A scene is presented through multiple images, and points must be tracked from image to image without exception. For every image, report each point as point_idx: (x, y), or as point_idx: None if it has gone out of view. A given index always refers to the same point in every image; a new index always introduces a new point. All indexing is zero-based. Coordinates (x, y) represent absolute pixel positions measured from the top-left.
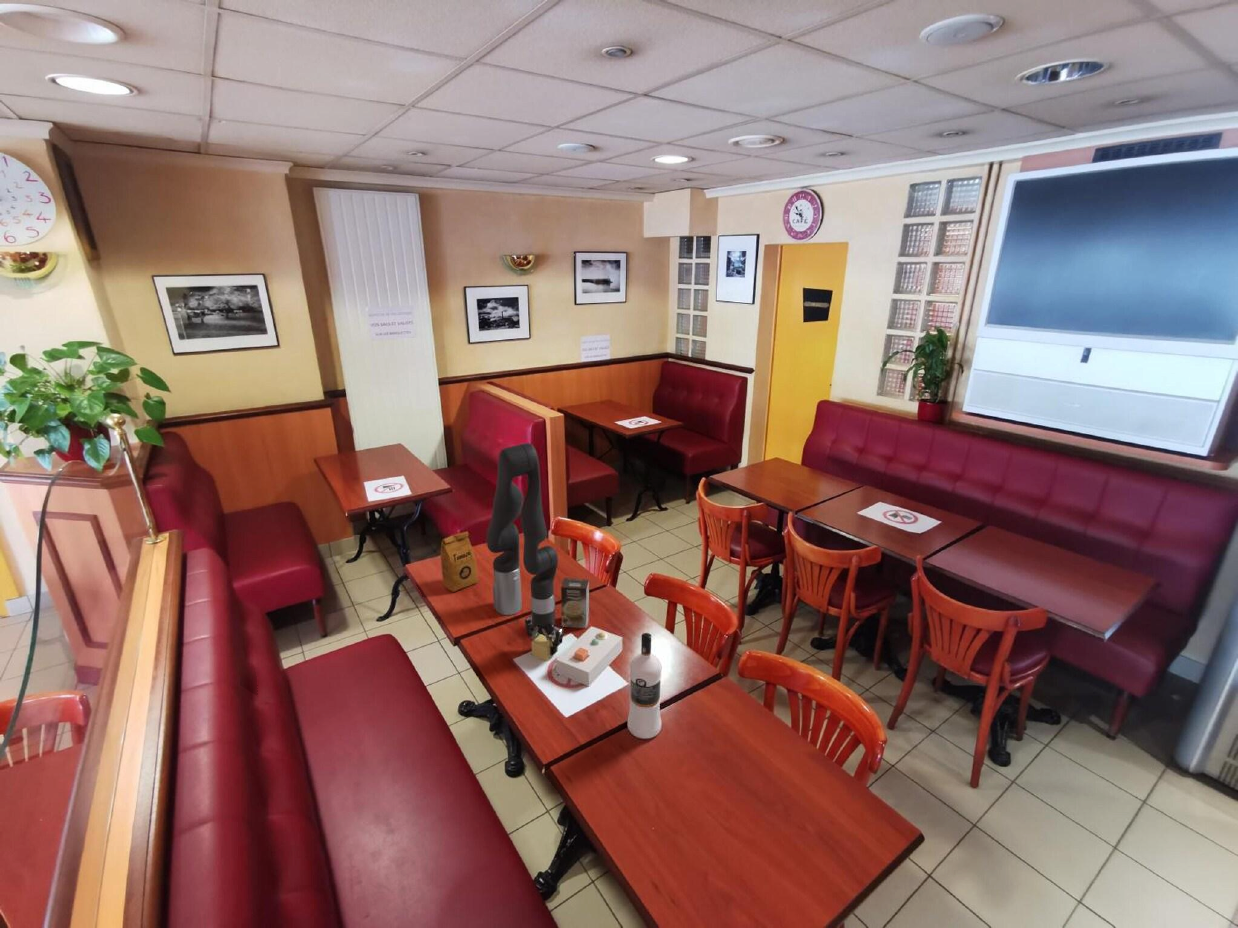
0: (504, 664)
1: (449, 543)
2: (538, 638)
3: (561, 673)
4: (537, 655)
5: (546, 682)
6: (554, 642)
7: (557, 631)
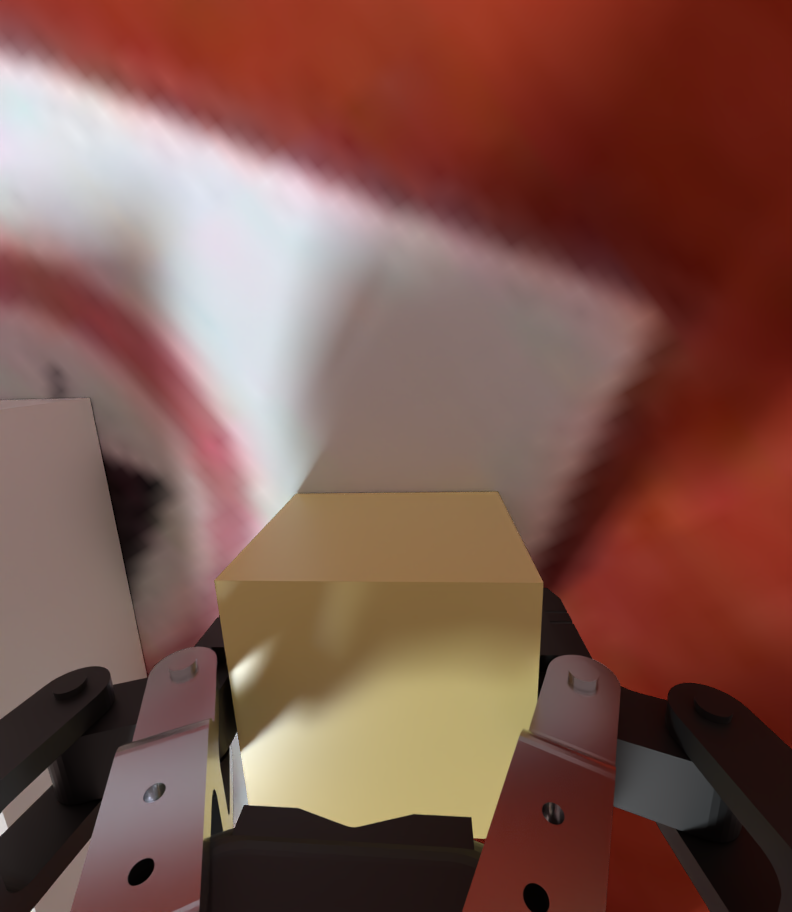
0: (702, 159)
1: None
2: (490, 703)
3: (14, 400)
4: (421, 499)
5: (53, 206)
6: (123, 728)
7: None
